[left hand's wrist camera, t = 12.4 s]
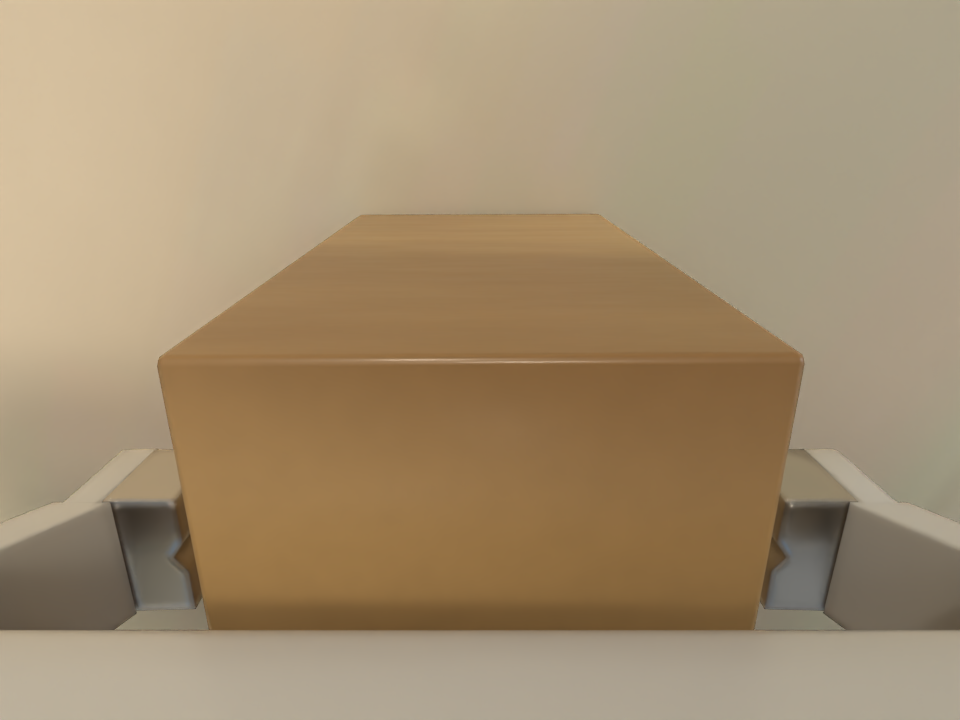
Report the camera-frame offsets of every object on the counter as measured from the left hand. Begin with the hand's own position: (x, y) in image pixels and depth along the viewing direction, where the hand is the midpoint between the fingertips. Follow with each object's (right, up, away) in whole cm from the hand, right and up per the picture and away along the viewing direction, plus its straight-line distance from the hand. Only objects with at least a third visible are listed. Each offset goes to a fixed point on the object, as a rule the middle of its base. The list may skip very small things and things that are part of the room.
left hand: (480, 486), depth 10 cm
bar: (0, -7, +8) cm, 11 cm away
